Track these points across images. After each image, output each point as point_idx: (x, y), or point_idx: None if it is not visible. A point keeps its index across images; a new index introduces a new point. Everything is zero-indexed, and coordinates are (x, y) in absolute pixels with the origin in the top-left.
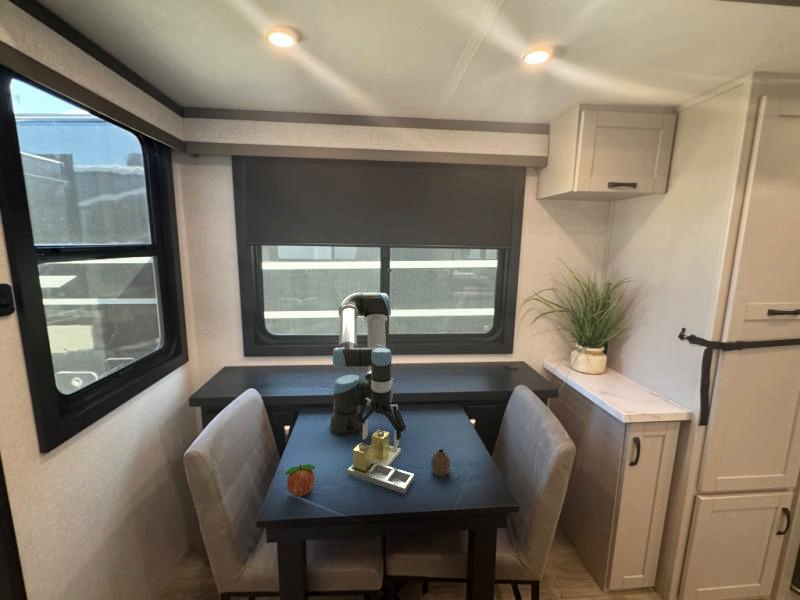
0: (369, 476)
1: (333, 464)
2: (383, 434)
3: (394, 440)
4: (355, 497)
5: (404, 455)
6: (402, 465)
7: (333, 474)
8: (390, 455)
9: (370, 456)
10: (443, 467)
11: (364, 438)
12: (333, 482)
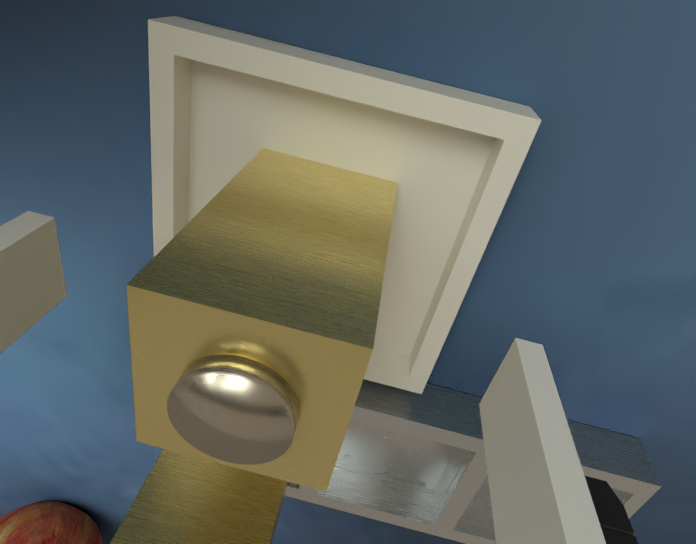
0: (331, 507)
1: (41, 349)
2: (292, 436)
3: (498, 503)
4: (306, 532)
5: (576, 143)
6: (550, 299)
7: (109, 422)
8: (417, 201)
9: (277, 514)
10: None
11: (56, 300)
12: (151, 467)
